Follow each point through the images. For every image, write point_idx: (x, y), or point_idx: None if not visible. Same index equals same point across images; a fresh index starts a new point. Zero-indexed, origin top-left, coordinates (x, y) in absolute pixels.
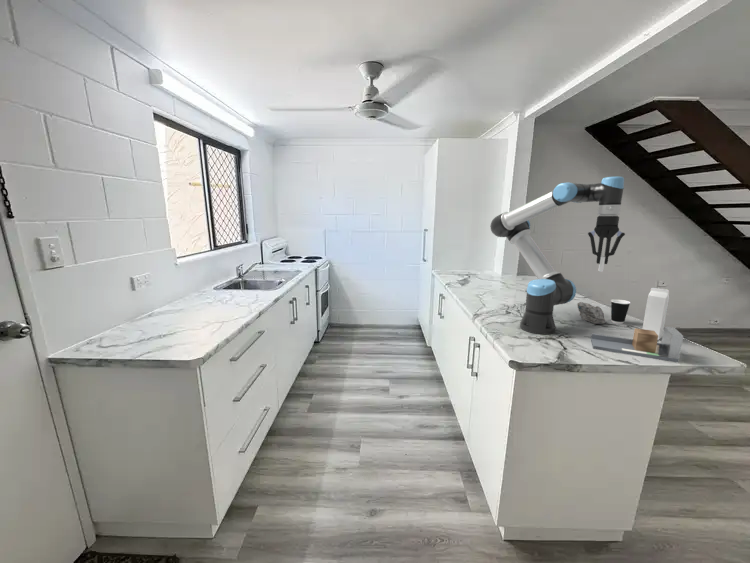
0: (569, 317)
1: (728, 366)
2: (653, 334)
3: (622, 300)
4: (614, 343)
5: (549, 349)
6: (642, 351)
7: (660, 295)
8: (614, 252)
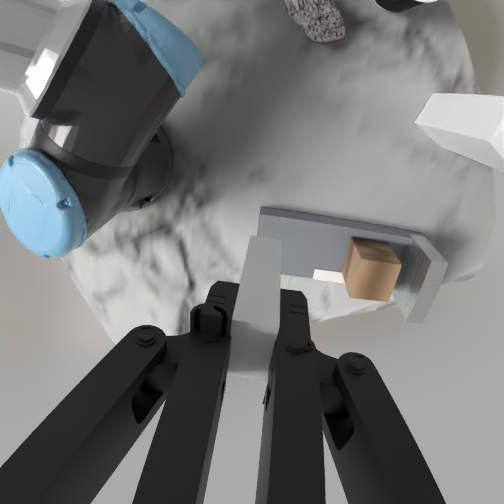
0: None
1: (472, 274)
2: (382, 296)
3: None
4: (311, 236)
5: (162, 298)
6: None
7: None
8: (352, 426)
